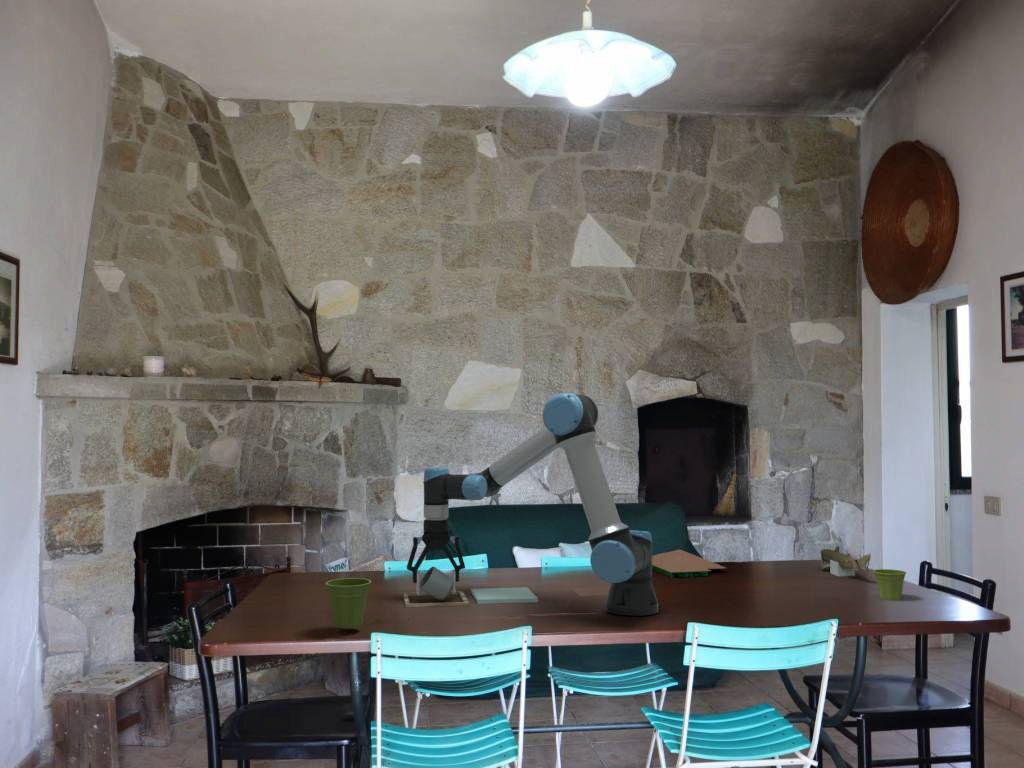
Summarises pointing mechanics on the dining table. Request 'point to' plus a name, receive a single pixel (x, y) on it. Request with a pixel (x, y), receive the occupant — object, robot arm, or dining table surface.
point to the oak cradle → (407, 604)
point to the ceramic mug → (436, 584)
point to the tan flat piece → (682, 563)
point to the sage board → (503, 595)
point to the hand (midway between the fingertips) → (435, 593)
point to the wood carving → (843, 562)
